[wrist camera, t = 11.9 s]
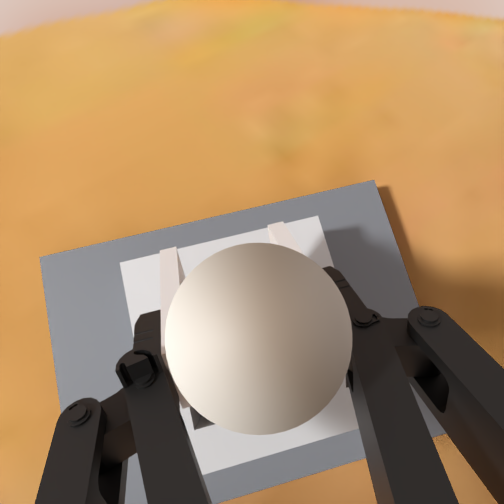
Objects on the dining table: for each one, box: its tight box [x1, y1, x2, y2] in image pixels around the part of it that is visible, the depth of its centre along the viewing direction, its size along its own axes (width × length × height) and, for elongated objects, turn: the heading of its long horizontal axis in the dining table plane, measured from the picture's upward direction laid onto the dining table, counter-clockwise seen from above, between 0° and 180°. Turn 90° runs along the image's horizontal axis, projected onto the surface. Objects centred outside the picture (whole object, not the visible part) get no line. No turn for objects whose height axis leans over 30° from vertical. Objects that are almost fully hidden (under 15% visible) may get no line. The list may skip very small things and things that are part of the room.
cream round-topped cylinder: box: [165, 243, 352, 435], centre depth 15 cm, size 4×4×13 cm
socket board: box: [40, 180, 446, 504], centre depth 22 cm, size 22×16×5 cm
